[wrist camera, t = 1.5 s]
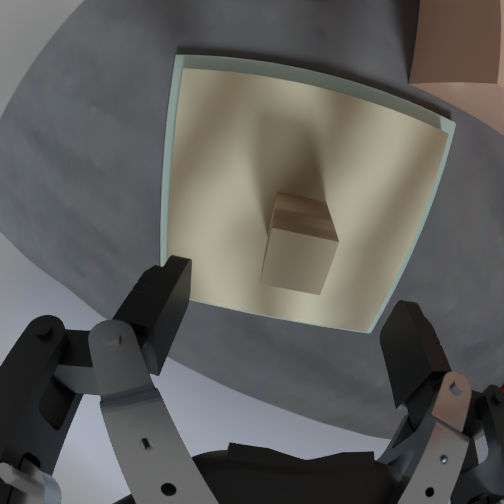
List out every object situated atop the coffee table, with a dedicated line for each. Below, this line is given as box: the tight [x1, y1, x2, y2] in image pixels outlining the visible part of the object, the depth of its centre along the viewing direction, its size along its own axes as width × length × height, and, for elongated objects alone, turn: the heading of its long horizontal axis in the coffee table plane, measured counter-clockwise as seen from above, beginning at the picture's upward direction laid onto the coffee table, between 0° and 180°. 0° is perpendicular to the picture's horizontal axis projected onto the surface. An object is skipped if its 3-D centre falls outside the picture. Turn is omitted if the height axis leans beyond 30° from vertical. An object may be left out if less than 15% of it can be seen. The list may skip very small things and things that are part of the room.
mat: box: [160, 55, 456, 333], centre depth 18 cm, size 18×18×1 cm
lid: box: [168, 68, 448, 332], centre depth 16 cm, size 16×16×6 cm
